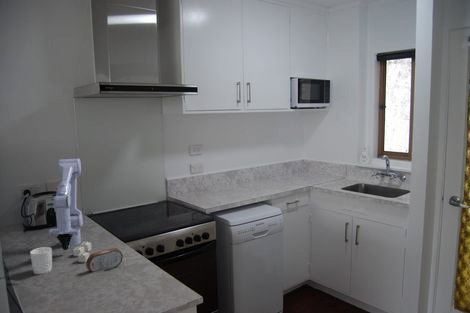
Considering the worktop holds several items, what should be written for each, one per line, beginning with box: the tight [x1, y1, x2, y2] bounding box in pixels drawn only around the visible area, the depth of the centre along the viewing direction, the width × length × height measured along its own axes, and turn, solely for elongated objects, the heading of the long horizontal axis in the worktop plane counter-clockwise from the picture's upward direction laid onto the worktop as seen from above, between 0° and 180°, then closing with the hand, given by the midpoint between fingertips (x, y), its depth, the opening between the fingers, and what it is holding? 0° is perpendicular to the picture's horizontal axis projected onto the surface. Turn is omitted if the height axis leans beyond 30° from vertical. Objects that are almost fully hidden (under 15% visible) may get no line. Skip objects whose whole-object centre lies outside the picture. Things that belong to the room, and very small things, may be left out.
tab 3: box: [77, 251, 90, 263], centre depth 159 cm, size 4×3×4 cm
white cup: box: [29, 246, 53, 275], centre depth 150 cm, size 8×8×10 cm
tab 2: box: [73, 245, 84, 257], centre depth 166 cm, size 4×3×4 cm
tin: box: [85, 247, 124, 273], centre depth 152 cm, size 15×3×8 cm, turn 131°
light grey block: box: [80, 240, 93, 252], centre depth 172 cm, size 4×3×4 cm
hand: (65, 249), depth 167 cm, fingers closed
